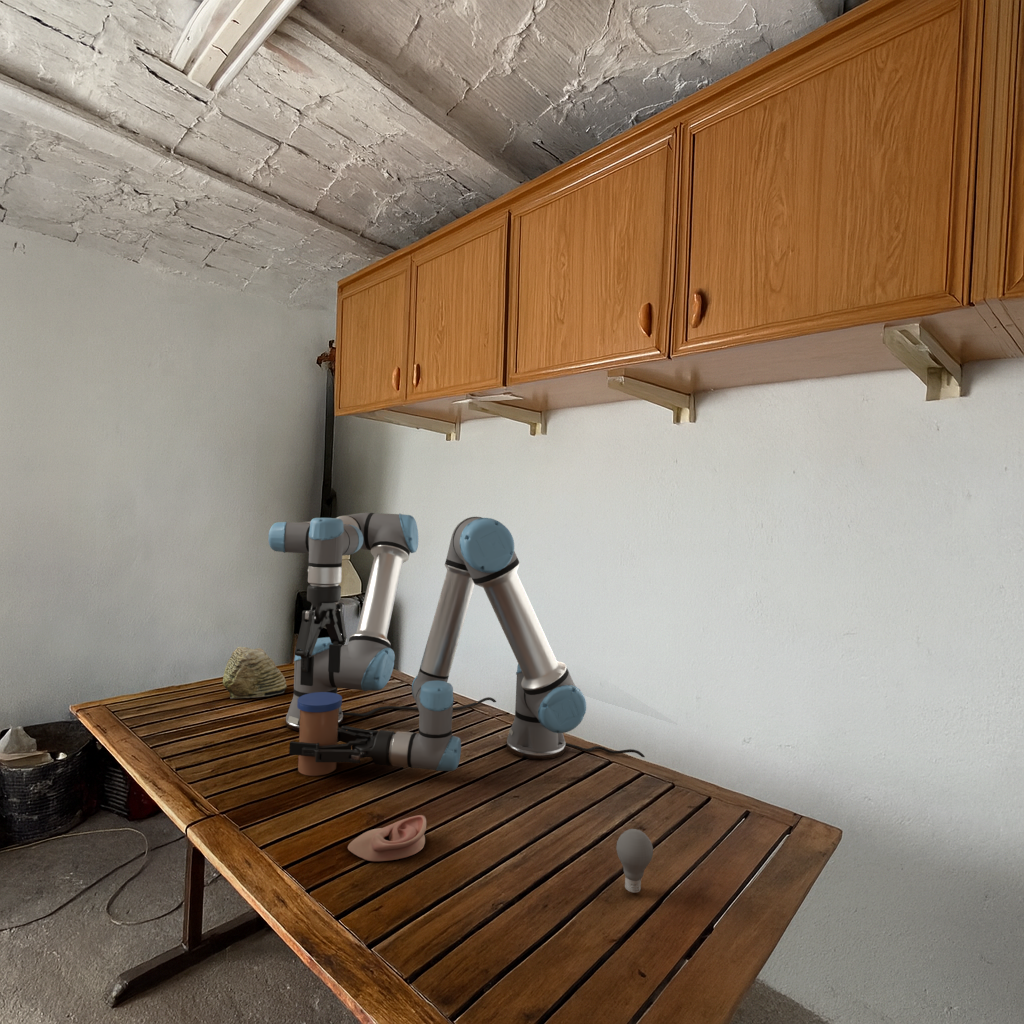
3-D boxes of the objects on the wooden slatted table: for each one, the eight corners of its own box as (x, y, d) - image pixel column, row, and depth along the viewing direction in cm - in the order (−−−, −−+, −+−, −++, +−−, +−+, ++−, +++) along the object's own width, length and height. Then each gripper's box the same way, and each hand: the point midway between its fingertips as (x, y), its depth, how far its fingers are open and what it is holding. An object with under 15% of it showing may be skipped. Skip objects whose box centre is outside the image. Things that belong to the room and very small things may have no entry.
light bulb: (610, 879, 108) (613, 822, 108) (644, 879, 109) (647, 822, 109) (619, 902, 102) (622, 840, 102) (655, 901, 103) (658, 840, 103)
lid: (319, 715, 141) (319, 708, 141) (287, 706, 146) (288, 699, 146) (350, 703, 149) (351, 697, 149) (320, 695, 154) (320, 689, 154)
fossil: (218, 695, 195) (220, 647, 195) (278, 685, 208) (279, 640, 207) (228, 703, 189) (230, 653, 188) (289, 692, 201) (290, 645, 201)
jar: (316, 779, 142) (319, 709, 142) (289, 769, 146) (292, 701, 146) (344, 765, 149) (347, 699, 149) (317, 757, 154) (320, 692, 153)
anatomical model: (340, 834, 112) (368, 804, 123) (339, 856, 112) (367, 824, 123) (411, 845, 109) (433, 813, 120) (410, 868, 109) (432, 834, 120)
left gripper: (336, 577, 159) (332, 664, 160) (279, 589, 137) (275, 690, 137) (363, 579, 157) (359, 667, 158) (310, 592, 135) (306, 694, 135)
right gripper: (377, 785, 135) (276, 775, 138) (405, 746, 156) (317, 739, 159) (378, 750, 135) (278, 741, 137) (406, 716, 156) (319, 709, 159)
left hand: (320, 678), depth 147 cm, fingers open, 11 cm apart
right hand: (299, 740), depth 148 cm, fingers closed on jar, 9 cm apart
